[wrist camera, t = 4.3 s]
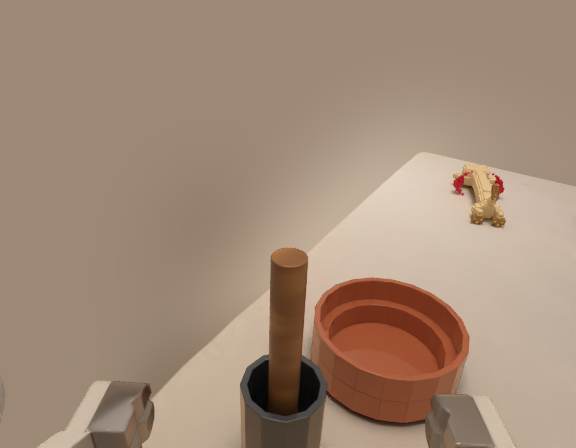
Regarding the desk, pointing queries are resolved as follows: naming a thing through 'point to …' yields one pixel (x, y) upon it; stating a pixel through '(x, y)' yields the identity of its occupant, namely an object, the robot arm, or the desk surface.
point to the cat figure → (482, 193)
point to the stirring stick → (286, 329)
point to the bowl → (387, 347)
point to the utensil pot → (276, 428)
